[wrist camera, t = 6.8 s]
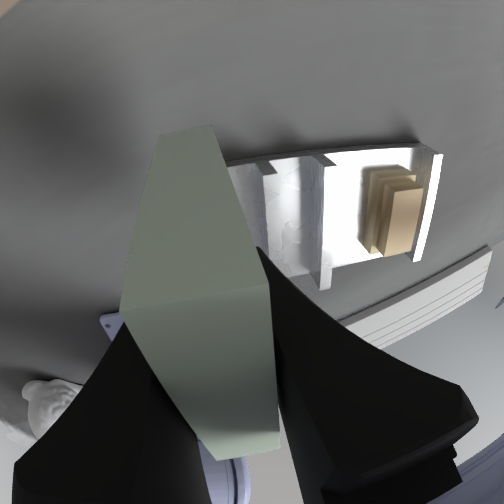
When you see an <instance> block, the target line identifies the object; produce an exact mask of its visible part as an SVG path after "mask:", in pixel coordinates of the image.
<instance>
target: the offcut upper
mask: <svg viewBox="0 0 504 504" xmlns="http://www.w3.org/2000/svg"><path fill="white" fill-rule="evenodd" d="M423 189H424V188H423V187H421V186H420V185H419V184H417V183H416V182H415V181H404V182H395V183H387V184H385V186H384V194H383V202H382V210H381V217H380V224H379V231H378V237H377V243H376V248H377V250H378V251H379V252H380V253H381V254H382V256H383V257H387V256H391V255H395V254H400V253H404V252H408V251H411V247H412V243H413V239H414V235H415V230H416V225H417V221H418V216H419V211H420V206H421V200H422V195H423Z"/></svg>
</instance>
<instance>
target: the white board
mask: <svg viewBox="0 0 504 504" xmlns="http://www.w3.org/2000/svg"><path fill="white" fill-rule="evenodd" d="M491 254H492V249H491V248H490V247H489V246H487V247H485V248H483V249H481V250H480V251H478V252H476V253H475V254H473V255H471V256H469V257H468V258H466V259H464V260H462V261H461V262H459V263H457V264H455V265H454V266H452V267H450V268H448V269H446V270H444V271H443V272H441V273H439V274H437V275H435V276H433V277H431V278H429V279H427V280H426V281H424V282H422V283H420V284H418V285H416V286H414V287H412V288H410V289H408V290H406V291H404V292H402V293H400V294H398V295H396V296H394V297H392V298H390V299H387V300H385V301H383V302H381V303H379V304H377V305H375V306H373V307H370V308H368V309H366V310H364V311H362V312H359V313H357V314H355V315H353V316H350V317H348V318H346V319H344V320H341V321H339V323H340V324H341V325H343V326H344V327H345V328H347V329H348V330H350V331H351V332H353V333H354V334H356V335H357V336H359V337H360V338H362V339H363V340H365V341H366V342H368V343H370V344H372V345H373V346H375V347H377V348H379V349H382V348H384V347H386V346H388V345H390V344H392V343H394V342H396V341H398V340H400V339H402V338H404V337H406V336H408V335H410V334H412V333H413V332H415V331H417V330H419V329H421V328H423V327H425V326H426V325H428V324H430V323H432V322H434V321H435V320H437V319H439V318H441V317H442V316H444V315H446V314H447V313H449V312H451V311H453V310H454V309H456V308H458V307H459V306H461V305H462V304H464V303H466V302H467V301H469V300H470V299H472V298H474V297H475V296H477V295H478V294H479V293H480V292H482V289H483V283H484V282H485V276H486V273H487V269H488V265H489V263H490V259H491Z"/></svg>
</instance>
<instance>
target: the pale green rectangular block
mask: <svg viewBox="0 0 504 504" xmlns="http://www.w3.org/2000/svg"><path fill="white" fill-rule="evenodd" d="M119 313H120V314H121V316H122V318H123V320H124V322H125V324H126V326H127V327H128V329H129V331H130V333H131V335H132V336H133V338H134V340H135V342H136V343H137V345H138V347H139V349H140V350H141V352H142V354H143V355H144V357H145V359H146V360H147V362H148V364H149V365H150V367H151V368H152V370H153V372H154V373H155V375H156V376H157V378H158V380H159V381H160V383H161V384H162V386H163V387H164V389H165V390H166V392H167V393H168V395H169V397H170V398H171V399H172V401H173V402H174V404H175V405H176V407H177V408H178V410H179V411H180V413H181V414H182V415H183V417H184V418H185V420H186V421H187V422H188V424H189V425H190V427H191V428H192V429H193V431H194V432H195V433H196V435H197V436H198V437H199V439H200V440H201V441H202V443H203V444H204V445H205V447H206V448H207V449H208V451H209V452H210V453H211V454H212V456H213V457H214V458H215V459H216V461H219V460H225V459H231V458H237V457H243V456H248V455H253V454H258V453H263V452H268V451H272V450H276V449H280V448H281V445H280V444H281V443H280V427H279V413H278V398H277V384H276V370H275V356H274V343H273V330H272V317H271V304H270V292H269V282H268V279H267V277H266V274H265V271H264V268H263V266H262V263H261V260H260V257H259V255H258V252H257V249H256V246H255V243H254V241H253V238H252V235H251V232H250V230H249V227H248V224H247V221H246V219H245V216H244V213H243V210H242V208H241V205H240V202H239V199H238V197H237V194H236V191H235V188H234V186H233V183H232V180H231V178H230V175H229V172H228V169H227V167H226V164H225V161H224V158H223V156H222V153H221V150H220V147H219V145H218V142H217V139H216V137H215V134H214V131H213V128H212V126H205V127H199V128H194V129H189V130H184V131H179V132H174V133H169V134H164V135H160V136H159V139H158V142H157V145H156V149H155V152H154V155H153V159H152V162H151V166H150V169H149V173H148V176H147V180H146V184H145V187H144V191H143V195H142V199H141V203H140V207H139V211H138V215H137V220H136V224H135V228H134V233H133V237H132V242H131V247H130V251H129V256H128V262H127V267H126V272H125V277H124V283H123V289H122V295H121V301H120V308H119Z"/></svg>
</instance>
